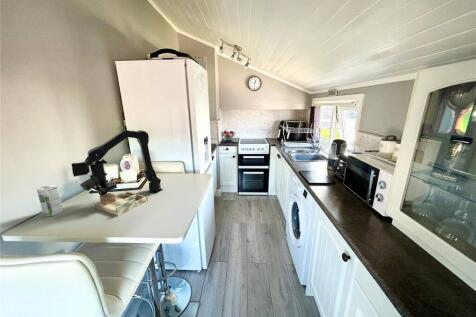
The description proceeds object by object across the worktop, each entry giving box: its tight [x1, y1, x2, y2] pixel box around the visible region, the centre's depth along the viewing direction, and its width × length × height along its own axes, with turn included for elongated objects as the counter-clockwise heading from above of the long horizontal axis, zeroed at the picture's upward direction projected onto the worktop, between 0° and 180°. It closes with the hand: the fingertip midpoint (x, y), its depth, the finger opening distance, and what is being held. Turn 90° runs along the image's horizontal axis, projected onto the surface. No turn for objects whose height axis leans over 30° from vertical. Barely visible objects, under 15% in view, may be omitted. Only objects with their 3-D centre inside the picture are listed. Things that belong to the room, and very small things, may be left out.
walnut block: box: [99, 192, 116, 205], centre depth 104 cm, size 5×5×4 cm
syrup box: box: [36, 184, 64, 217], centre depth 96 cm, size 6×6×14 cm
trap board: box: [94, 190, 149, 217], centre depth 107 cm, size 18×19×4 cm
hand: (103, 198), depth 106 cm, fingers closed
